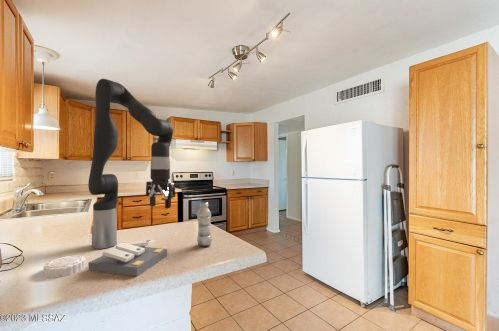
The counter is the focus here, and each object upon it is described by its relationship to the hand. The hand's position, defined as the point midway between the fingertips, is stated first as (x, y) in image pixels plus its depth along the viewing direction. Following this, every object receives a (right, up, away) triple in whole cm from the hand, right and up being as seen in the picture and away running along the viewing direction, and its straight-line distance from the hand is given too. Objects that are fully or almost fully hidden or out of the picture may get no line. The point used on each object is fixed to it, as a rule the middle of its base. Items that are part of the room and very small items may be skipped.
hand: (160, 207), depth 98 cm
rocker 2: (-7, -15, -1) cm, 16 cm away
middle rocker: (-9, -15, -7) cm, 19 cm away
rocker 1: (-10, -15, -13) cm, 22 cm away
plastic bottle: (+16, -20, +12) cm, 28 cm away
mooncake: (-30, -21, -12) cm, 38 cm away
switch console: (-9, -20, -7) cm, 23 cm away
